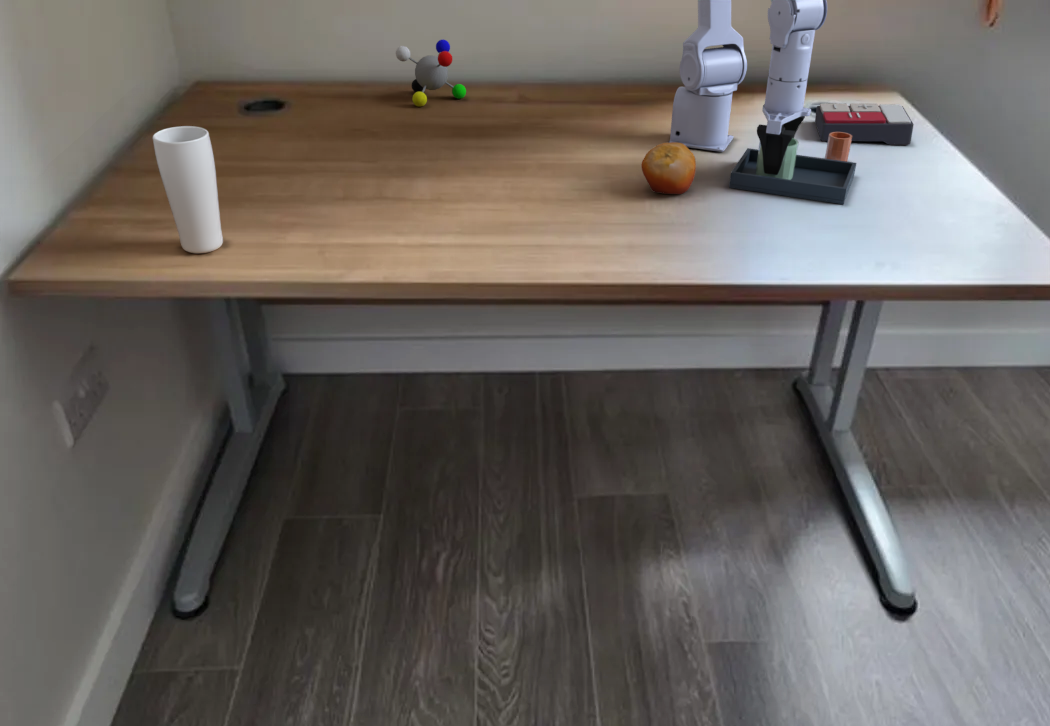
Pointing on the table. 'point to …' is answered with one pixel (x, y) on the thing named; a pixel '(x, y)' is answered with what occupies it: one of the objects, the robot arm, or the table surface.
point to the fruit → (669, 168)
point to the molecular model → (431, 72)
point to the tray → (797, 178)
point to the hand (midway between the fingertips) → (774, 166)
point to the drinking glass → (190, 185)
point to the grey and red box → (865, 122)
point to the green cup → (787, 163)
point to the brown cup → (838, 146)
